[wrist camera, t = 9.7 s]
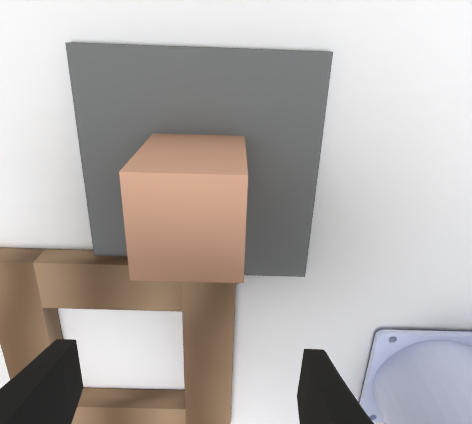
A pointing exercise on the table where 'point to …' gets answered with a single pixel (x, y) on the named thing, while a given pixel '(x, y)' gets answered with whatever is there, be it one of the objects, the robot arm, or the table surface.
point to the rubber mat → (206, 132)
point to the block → (186, 208)
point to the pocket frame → (120, 298)
